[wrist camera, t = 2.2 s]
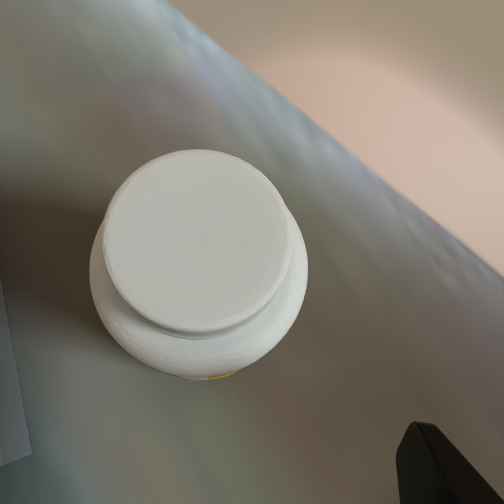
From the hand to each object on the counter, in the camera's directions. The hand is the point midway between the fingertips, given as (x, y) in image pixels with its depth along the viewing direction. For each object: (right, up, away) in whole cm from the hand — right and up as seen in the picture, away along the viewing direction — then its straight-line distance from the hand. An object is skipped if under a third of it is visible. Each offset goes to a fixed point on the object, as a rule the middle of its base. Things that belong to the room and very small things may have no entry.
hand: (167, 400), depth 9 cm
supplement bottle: (0, 0, +11) cm, 11 cm away
